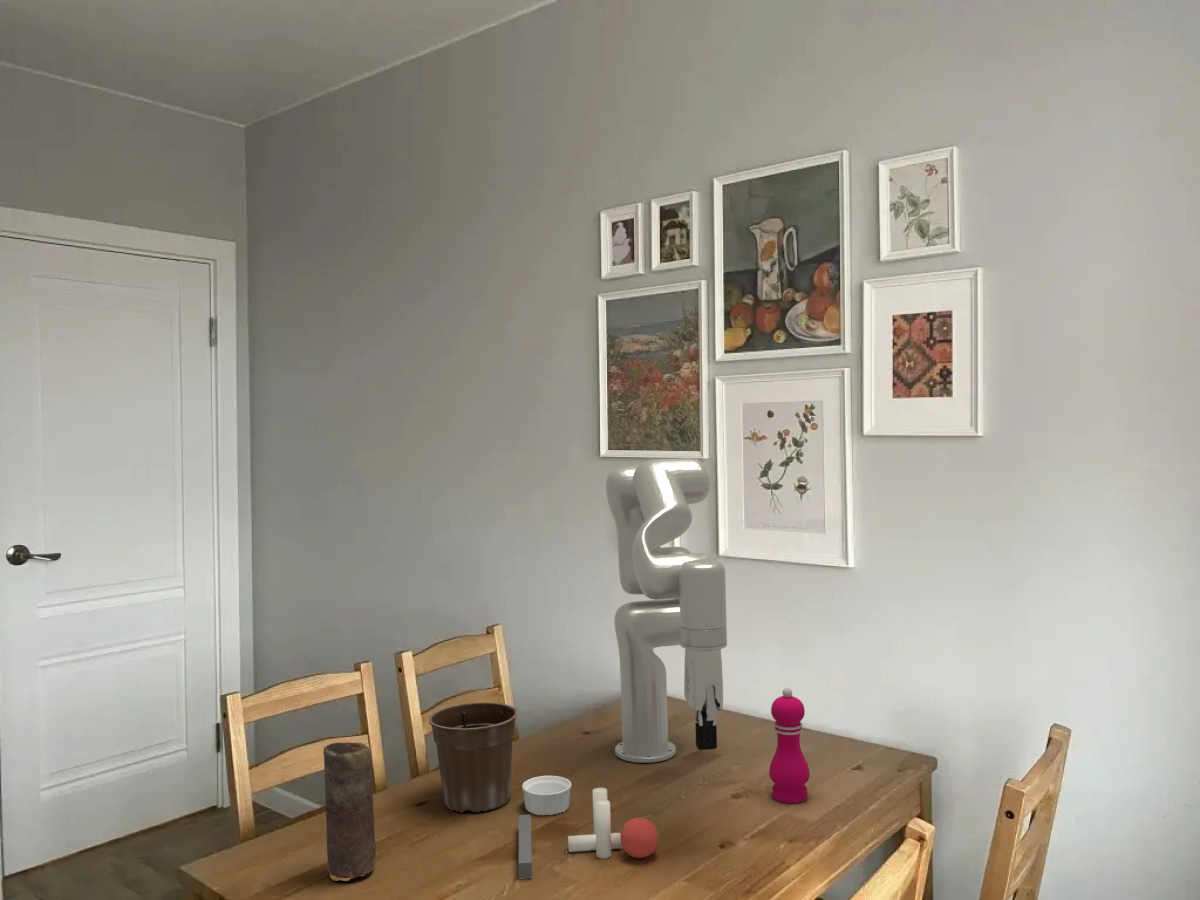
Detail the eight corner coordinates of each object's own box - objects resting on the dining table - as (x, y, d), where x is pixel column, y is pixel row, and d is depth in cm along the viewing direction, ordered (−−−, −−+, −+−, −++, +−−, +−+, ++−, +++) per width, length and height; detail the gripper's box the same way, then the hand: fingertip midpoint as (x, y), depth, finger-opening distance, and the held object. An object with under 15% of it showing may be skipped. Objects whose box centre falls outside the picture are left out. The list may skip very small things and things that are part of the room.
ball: (615, 816, 154) (649, 804, 156) (614, 839, 157) (647, 827, 159) (630, 848, 149) (665, 835, 151) (629, 871, 153) (663, 858, 155)
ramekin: (579, 801, 178) (578, 777, 178) (561, 820, 170) (560, 796, 169) (534, 796, 181) (533, 773, 181) (514, 815, 172) (514, 791, 172)
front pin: (619, 841, 159) (568, 845, 159) (619, 829, 159) (567, 832, 158) (621, 851, 157) (569, 855, 156) (621, 839, 156) (568, 842, 156)
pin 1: (593, 838, 161) (592, 788, 161) (607, 837, 162) (606, 787, 161) (594, 844, 159) (593, 793, 159) (609, 843, 159) (607, 792, 159)
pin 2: (595, 852, 156) (594, 800, 156) (610, 851, 157) (609, 799, 156) (597, 858, 154) (595, 806, 154) (612, 857, 154) (610, 805, 154)
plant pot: (413, 803, 179) (410, 716, 178) (481, 777, 191) (478, 696, 190) (470, 826, 168) (467, 734, 167) (538, 798, 179) (535, 711, 179)
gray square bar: (519, 829, 166) (519, 815, 166) (531, 829, 166) (530, 814, 166) (519, 879, 148) (518, 863, 148) (532, 878, 148) (531, 862, 148)
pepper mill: (810, 805, 172) (807, 694, 172) (769, 803, 174) (766, 693, 173) (809, 790, 179) (807, 683, 179) (770, 788, 181) (767, 682, 180)
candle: (333, 863, 155) (328, 739, 155) (379, 859, 156) (375, 736, 155) (323, 885, 148) (318, 755, 147) (372, 882, 148) (367, 753, 148)
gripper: (673, 627, 165) (676, 734, 166) (688, 648, 150) (691, 765, 151) (717, 625, 166) (719, 732, 166) (736, 646, 151) (739, 762, 152)
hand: (706, 747), depth 159 cm, fingers closed
